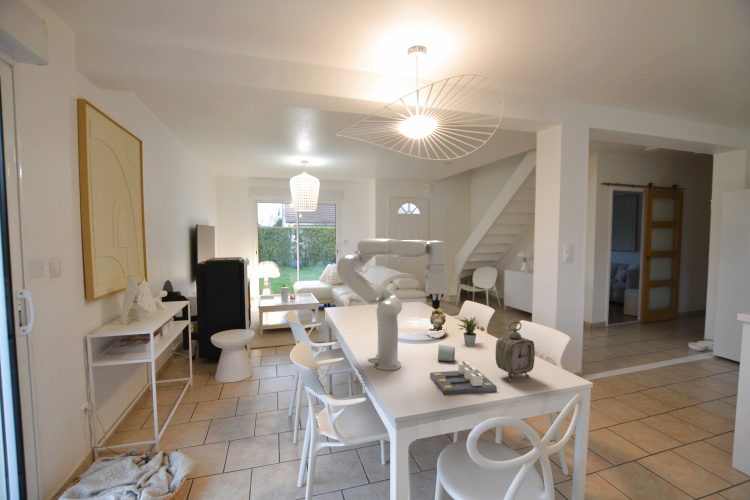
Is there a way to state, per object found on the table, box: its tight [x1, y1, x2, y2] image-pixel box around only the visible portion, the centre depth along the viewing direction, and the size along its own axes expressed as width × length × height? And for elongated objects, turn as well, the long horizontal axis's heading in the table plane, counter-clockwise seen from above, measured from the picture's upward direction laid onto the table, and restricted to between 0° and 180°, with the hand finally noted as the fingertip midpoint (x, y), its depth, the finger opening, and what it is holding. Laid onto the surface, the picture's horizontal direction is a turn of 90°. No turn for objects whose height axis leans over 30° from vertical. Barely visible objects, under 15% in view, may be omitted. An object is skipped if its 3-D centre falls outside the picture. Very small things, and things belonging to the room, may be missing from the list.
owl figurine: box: [427, 307, 447, 340], centre depth 208 cm, size 18×12×17 cm, turn 0°
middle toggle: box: [464, 366, 477, 380], centre depth 139 cm, size 4×2×4 cm, turn 99°
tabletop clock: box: [495, 321, 536, 383], centre depth 145 cm, size 14×9×25 cm, turn 114°
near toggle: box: [470, 372, 483, 386], centre depth 133 cm, size 4×2×4 cm, turn 99°
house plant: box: [456, 316, 482, 347], centre depth 190 cm, size 14×14×16 cm
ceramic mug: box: [437, 344, 456, 362], centre depth 167 cm, size 11×8×8 cm
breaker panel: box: [429, 369, 498, 396], centre depth 139 cm, size 22×17×3 cm
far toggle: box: [457, 360, 470, 374], centre depth 145 cm, size 4×2×4 cm, turn 99°
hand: (435, 308), depth 150 cm, fingers closed
